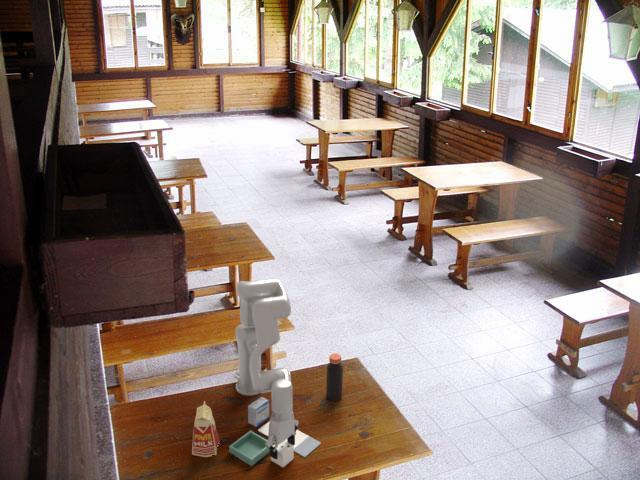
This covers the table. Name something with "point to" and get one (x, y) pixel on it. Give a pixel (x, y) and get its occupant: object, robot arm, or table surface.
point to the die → (284, 454)
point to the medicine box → (258, 411)
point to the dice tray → (250, 448)
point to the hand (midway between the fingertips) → (282, 450)
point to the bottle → (334, 378)
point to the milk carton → (204, 433)
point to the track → (297, 441)
